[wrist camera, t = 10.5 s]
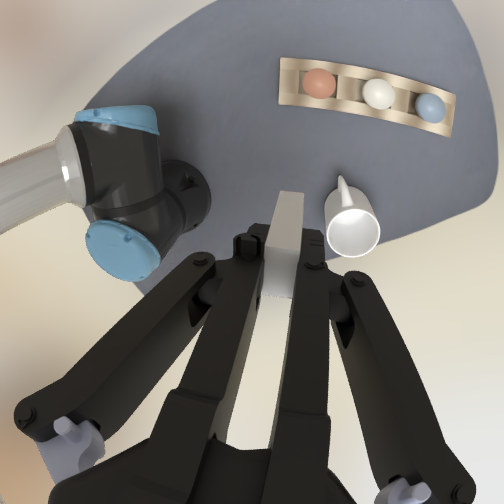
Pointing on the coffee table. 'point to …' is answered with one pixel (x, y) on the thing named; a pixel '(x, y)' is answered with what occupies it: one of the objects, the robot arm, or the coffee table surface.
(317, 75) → the terracotta ball
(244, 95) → the coffee table surface
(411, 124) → the three-ball wooden rack
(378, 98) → the cream rounded piece
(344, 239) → the mug
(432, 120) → the slate ball
